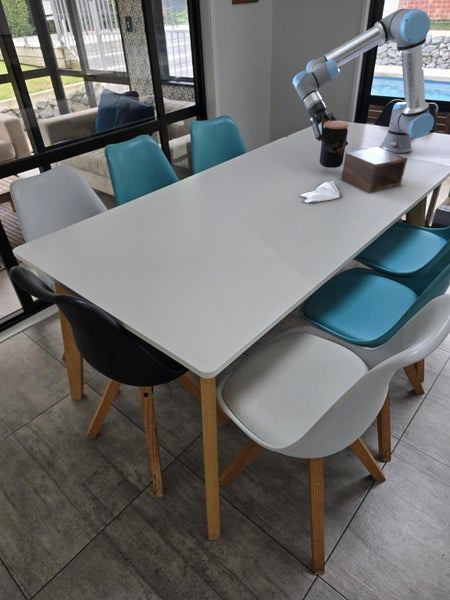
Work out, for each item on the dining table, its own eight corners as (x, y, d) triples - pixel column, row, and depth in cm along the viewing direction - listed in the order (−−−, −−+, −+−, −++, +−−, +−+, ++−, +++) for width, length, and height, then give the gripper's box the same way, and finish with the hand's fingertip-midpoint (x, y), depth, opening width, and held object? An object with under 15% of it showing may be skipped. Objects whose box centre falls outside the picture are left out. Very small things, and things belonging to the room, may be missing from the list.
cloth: (321, 207, 162) (321, 202, 161) (292, 198, 170) (293, 193, 168) (354, 189, 177) (355, 184, 176) (327, 181, 185) (328, 176, 183)
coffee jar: (328, 169, 186) (334, 128, 175) (314, 163, 194) (319, 122, 183) (347, 165, 190) (354, 124, 179) (332, 159, 198) (337, 119, 187)
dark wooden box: (371, 172, 193) (377, 146, 186) (400, 185, 180) (407, 158, 173) (341, 179, 186) (345, 152, 179) (368, 193, 174) (374, 164, 166)
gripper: (325, 107, 195) (347, 147, 195) (293, 115, 183) (316, 158, 182) (336, 96, 188) (359, 138, 188) (303, 104, 176) (328, 149, 176)
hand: (338, 148), depth 185 cm, fingers closed on coffee jar, 11 cm apart
